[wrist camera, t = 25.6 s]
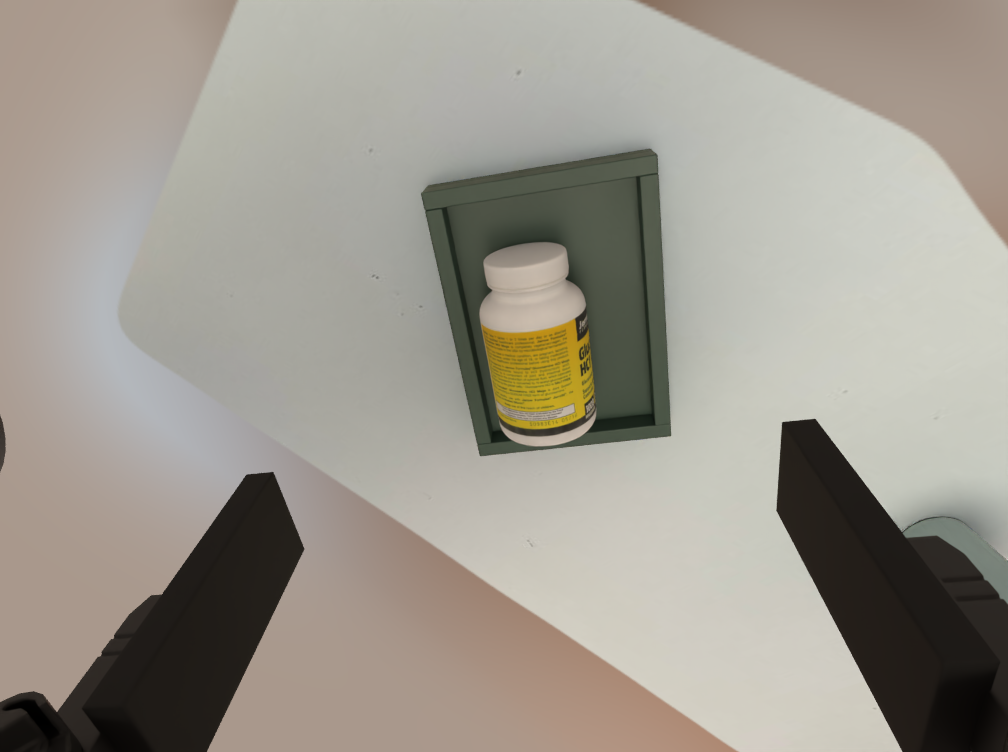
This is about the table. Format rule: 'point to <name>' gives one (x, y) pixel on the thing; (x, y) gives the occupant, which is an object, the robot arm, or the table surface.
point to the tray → (592, 268)
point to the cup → (967, 548)
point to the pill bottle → (537, 345)
